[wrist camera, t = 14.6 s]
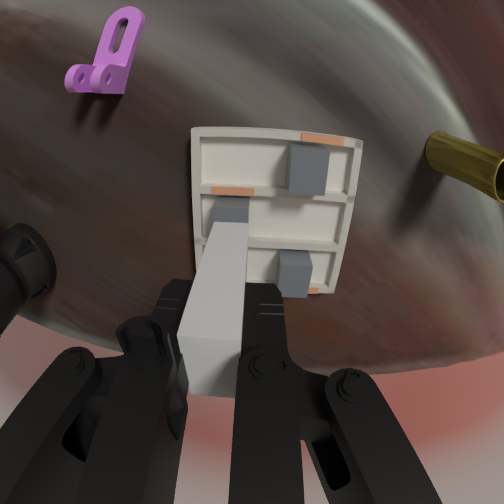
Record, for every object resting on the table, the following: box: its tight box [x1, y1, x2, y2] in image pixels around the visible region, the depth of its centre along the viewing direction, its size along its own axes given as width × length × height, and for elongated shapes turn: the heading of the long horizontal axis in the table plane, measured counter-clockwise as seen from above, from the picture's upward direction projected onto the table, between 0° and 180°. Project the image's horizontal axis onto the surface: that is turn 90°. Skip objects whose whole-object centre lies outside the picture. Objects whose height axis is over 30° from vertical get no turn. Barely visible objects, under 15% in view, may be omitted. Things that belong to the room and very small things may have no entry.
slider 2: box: [285, 143, 330, 196], centre depth 29 cm, size 4×5×4 cm
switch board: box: [191, 127, 363, 294], centre depth 35 cm, size 20×22×3 cm
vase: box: [426, 131, 504, 203], centre depth 24 cm, size 6×6×14 cm
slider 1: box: [212, 196, 250, 225], centre depth 33 cm, size 4×5×4 cm
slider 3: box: [276, 249, 313, 298], centre depth 36 cm, size 4×5×4 cm
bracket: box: [65, 6, 145, 94], centre depth 22 cm, size 13×6×7 cm, turn 164°
